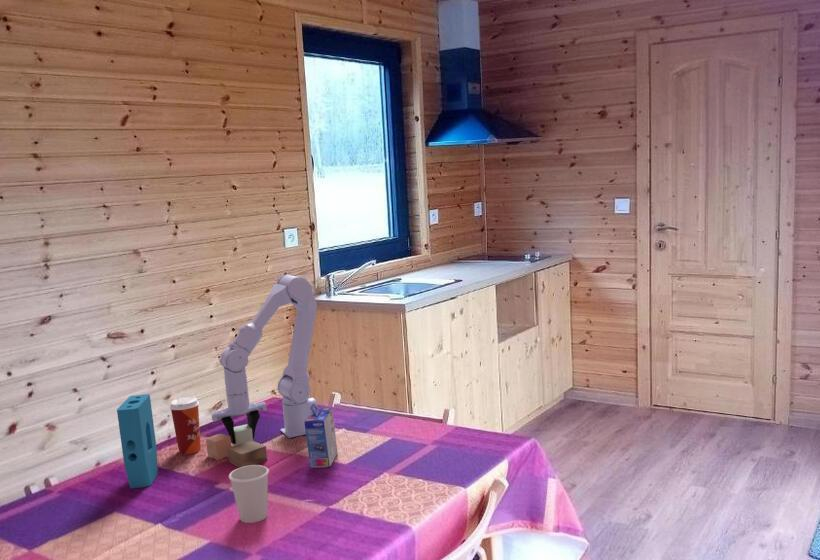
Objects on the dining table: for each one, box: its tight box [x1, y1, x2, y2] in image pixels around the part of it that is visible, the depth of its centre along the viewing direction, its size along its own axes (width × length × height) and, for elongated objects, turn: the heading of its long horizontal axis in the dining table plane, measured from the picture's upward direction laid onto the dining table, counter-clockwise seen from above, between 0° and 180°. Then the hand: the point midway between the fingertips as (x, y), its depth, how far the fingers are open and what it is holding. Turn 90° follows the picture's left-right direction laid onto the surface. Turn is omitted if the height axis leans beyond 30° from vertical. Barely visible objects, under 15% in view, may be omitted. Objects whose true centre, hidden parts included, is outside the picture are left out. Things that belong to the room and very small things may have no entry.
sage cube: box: [232, 424, 254, 447], centre depth 208 cm, size 4×4×5 cm
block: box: [116, 393, 159, 489], centre depth 188 cm, size 12×5×20 cm, turn 4°
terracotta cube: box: [205, 433, 232, 461], centre depth 202 cm, size 4×4×5 cm
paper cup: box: [169, 396, 201, 455], centre depth 207 cm, size 8×8×14 cm
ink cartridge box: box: [304, 403, 338, 469], centre depth 192 cm, size 10×6×14 cm, turn 174°
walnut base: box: [227, 440, 268, 468], centre depth 196 cm, size 7×7×4 cm
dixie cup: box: [228, 464, 270, 524], centre depth 163 cm, size 8×8×10 cm
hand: (242, 440), depth 208 cm, fingers closed on sage cube, 4 cm apart
